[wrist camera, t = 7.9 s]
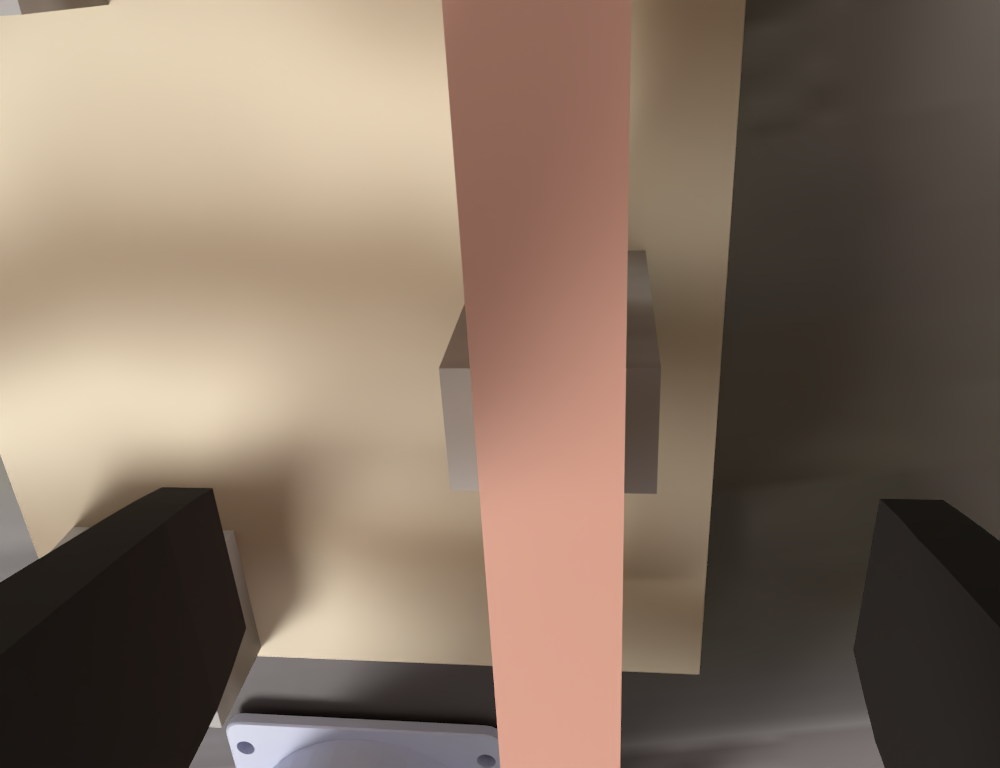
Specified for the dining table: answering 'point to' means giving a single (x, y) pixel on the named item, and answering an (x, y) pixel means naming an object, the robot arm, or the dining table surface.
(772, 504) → the dining table surface
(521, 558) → the pink notched tray
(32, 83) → the display stand
